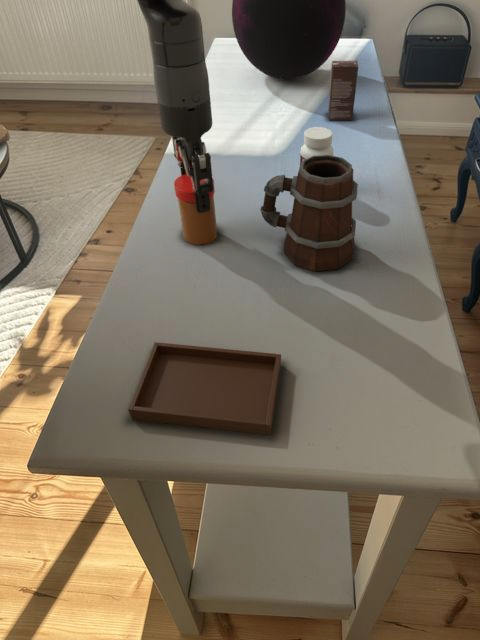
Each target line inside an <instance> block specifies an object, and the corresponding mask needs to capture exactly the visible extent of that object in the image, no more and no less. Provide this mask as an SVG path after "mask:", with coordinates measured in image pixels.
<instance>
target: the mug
mask: <svg viewBox="0 0 480 640" xmlns="http://www.w3.org/2000/svg"><path fill="white" fill-rule="evenodd" d="M358 185H359V184H358V183H357V182H356V180H354V168H353V165H352V163H350V162H349V161H347V160H346V159H345V158H344V157H341V156H336V155H333V156H332V155H318V156H312V157H310V158H308V159H306V160H304V161H302V163H301V165H300V164H299V168H298V172H297V175H294V176H293V177H292V178H291V177H286V174H282V175H281V174H280V175H275V176H273V177H271V178H270V179H269V180H268V181H267V182H266V185H264V188H263V191H264V198H263V204H262V205H261V206H260V209H259V211H260V213H261V217H262V218H263V220H264V222H266V223H267V224H268V225H269V226H271V227H273V228H275V229H276V228H277V227H278V228H283V229H284V231H285V232H286V234H285V239H284V242H283V254H284V255H285V256H286V257H287V259H288V260H289V261H290V262H291V263H292V264H293V265H294V266H297V267H300V268H303V269H306V270H310V271H314V272H323V271H331V270H333V271H334V270H338V269H340V268H341V267H343V266H344V265H346V264H347V263H349V262H350V261H353V256H354V249H355V237H356V229H357V220H356V219H355V218H354V217H353V201H355V200H356V199H358V187H359V186H358ZM284 192H289V195H291V196H292V197H293V198H294V199H293V204H292V211H291V213H288V214H287V215H284V214H281V212H280V211H277V207H276V202H277V197H279V195H280V193H284Z"/></svg>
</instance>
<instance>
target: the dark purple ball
mask: <svg viewBox="0 0 480 640" xmlns="http://www.w3.org/2000/svg"><path fill="white" fill-rule="evenodd" d="M231 2H232V3H231V20H232V21H231V22H232V27H233V32H234V36H235V39H236V42H237V44H238V47H239V48H240V50H241V51H242V53H243V55H244V57H245V58H246V59H247V61H248V62H249V63H250V64H251V65H252V66H253V67H254V68H255V69H256V70H258V71H260V73H263V74H265V75H266V76H268V77H272V78H275V79H278V80H279V79H280V80H294V79H295V80H296V79H300V78H303V77H306V76H308V75H309V74H312V73H313V72H315V71H316V70H319V68H320V67H321V66H323V65H324V64H325V63H326V62H327V60H329V58H330V57H331V56H332V54H333V53H334V51H335V50H336V48H337V46H338V44H339V41H340V39H341V37H342V34H343V31H344V26H345V20H346V12H347V11H346V10H347V9H346V7H347V6H346V0H232V1H231Z"/></svg>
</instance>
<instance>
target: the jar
mask: <svg viewBox="0 0 480 640" xmlns="http://www.w3.org/2000/svg"><path fill="white" fill-rule="evenodd" d="M209 200H210V210H209V211H207V212H202V213H198V212H197V210H196V204H195V203H189V202H184V201H181V200H179V199H178V198H177V203H178V210H179V217H180V222H181V229H182V230H181V231H182V235H183V239H184V241H185V242H187V243H189V244H191V245H197V246H198V245H199V246H200V245H201V246H202V245H206V244H210V243H211V242H214V241H215V240H216V238H218V237H217V236H218V227H217V225H218V224H217V217H216V203H215V194H214V195H213V196H212V197H211V198H210V199H209Z"/></svg>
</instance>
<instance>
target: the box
mask: <svg viewBox="0 0 480 640" xmlns="http://www.w3.org/2000/svg"><path fill="white" fill-rule="evenodd" d="M330 67H331V68H330V69H331V70H330V82H329V83H330V84H329V96H328V97H329V98H328V109H327V110H328V111H327V116H328V120H329V121H333V120H334V121H340V120H341V121H353V117H354V107H355V99H356V90H357V81H358V72H359V63H358V60H331V66H330Z"/></svg>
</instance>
